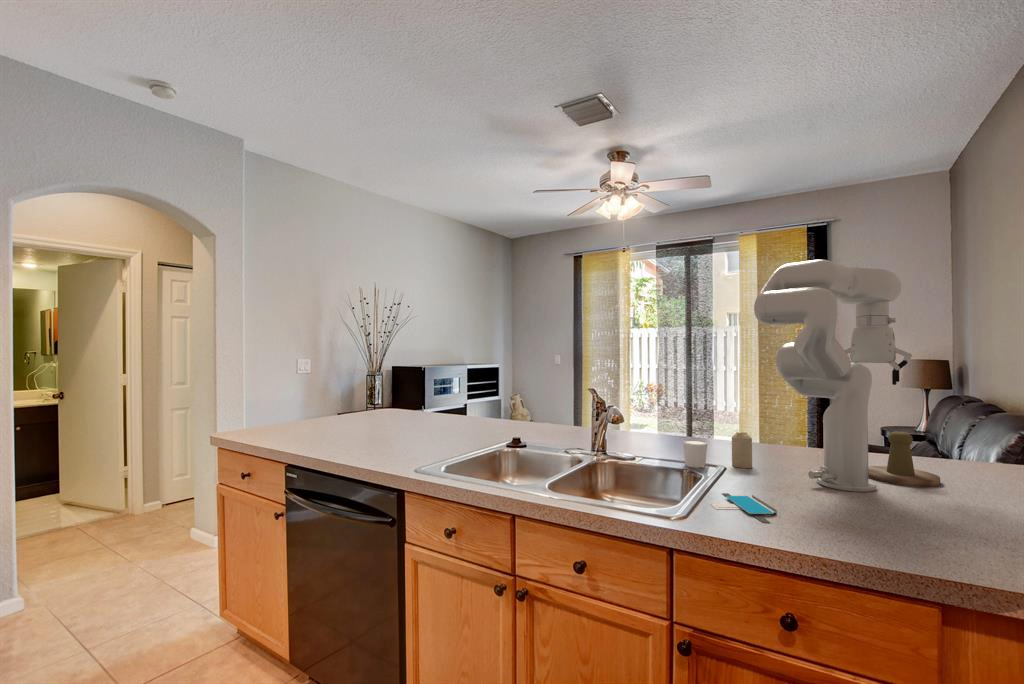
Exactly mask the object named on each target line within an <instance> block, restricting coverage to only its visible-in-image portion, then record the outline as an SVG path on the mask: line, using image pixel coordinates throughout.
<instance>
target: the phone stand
mask: <svg viewBox="0 0 1024 684" xmlns="http://www.w3.org/2000/svg"><path fill="white" fill-rule="evenodd" d="M721 494H722V495H723V496H724V497H725V498H727V499H728V500H729V501H731V502H732V503H710V506H712V507H713V508H714V509H715V510H716V511H721V510H722V511H726V510H727V511H728V510H729V511H730V510H731V511H734V510H735V511H737V510H738V511H741V510H742V511H745V512H746V513H747V514H749V515H751V516H752V517H754V518H755V519H756V520H759V521H760V522H761V523H770V520H768V519H766V518H765V517H767V516H768V517H769V516H771V517H773V515H775V516H777V515H778V514H777V513H779V512H778V511H777V509H776V508H774V507H773V506H771V505H770V504H767V503H766V502H764V501H763V500H761V499H760V498H759V497H756V496H755V495H753V494H752V495H751V496H747V495H731V494H730V493H728V492H722V493H721Z"/></svg>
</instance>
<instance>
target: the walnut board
mask: <svg viewBox="0 0 1024 684" xmlns="http://www.w3.org/2000/svg"><path fill="white" fill-rule="evenodd" d="M914 472H915V475H914V476H903V475H896V474H891V473H888V472H887V465H870V466H868V479H871V480H874V481H878V482H881V483H886V484H892V485H898V486H903V487H904V486H905V487H915V488H933V487H938V486H940V485H941V477H940V476H939V475H938V474H935V473H931V472H928V471H925V470H920V469H915V468H914Z"/></svg>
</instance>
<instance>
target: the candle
mask: <svg viewBox="0 0 1024 684" xmlns="http://www.w3.org/2000/svg"><path fill="white" fill-rule="evenodd" d="M731 466H732V467H735V468H741V469H751V468H753V438H752V437H751V436H750V434H749V433H748V432H744V431H741V432H738V431H736V433H734V434H733V435H732V436H731Z"/></svg>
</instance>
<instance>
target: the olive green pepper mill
mask: <svg viewBox="0 0 1024 684" xmlns="http://www.w3.org/2000/svg"><path fill="white" fill-rule="evenodd" d="M913 438H914V437H913V435H912V434H910V433H908V432H904V431H891V432H889V433H888V437H887V439H888V442H889V443H890V447H889V453H888V459H887V465H886V466H887V472H888V473H891V474H896V475H903V476H914V475H915V472H914V469H915V467H914V466H915V465H914V462H913V461H914V460H913V456H912V448H911V445H912V444H913V442H914V439H913Z"/></svg>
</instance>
